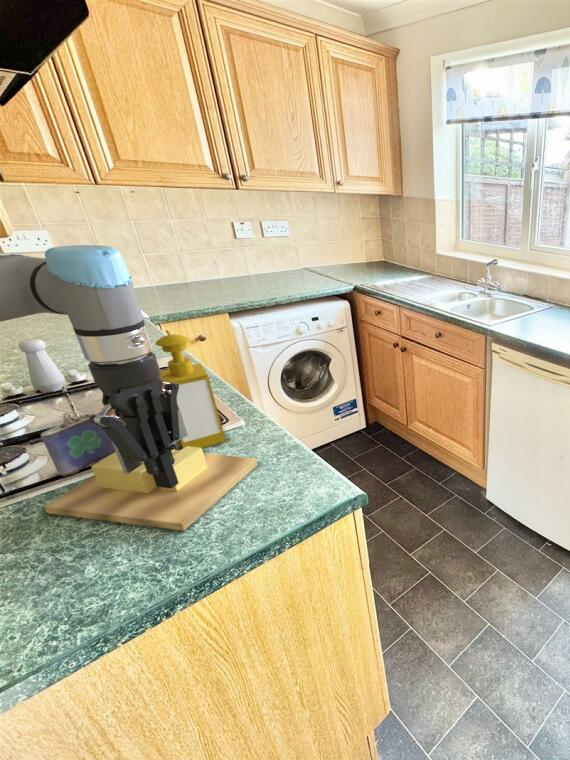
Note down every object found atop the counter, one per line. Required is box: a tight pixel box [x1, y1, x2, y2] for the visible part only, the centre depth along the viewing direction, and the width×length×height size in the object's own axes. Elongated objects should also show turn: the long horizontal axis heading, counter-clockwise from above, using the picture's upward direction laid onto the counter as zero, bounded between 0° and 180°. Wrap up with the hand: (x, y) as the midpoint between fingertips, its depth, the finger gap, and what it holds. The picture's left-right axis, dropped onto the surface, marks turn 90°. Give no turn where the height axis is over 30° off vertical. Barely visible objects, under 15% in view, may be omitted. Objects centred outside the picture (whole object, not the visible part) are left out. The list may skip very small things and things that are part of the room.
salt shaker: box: [18, 338, 66, 394], centre depth 103 cm, size 6×6×13 cm
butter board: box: [44, 449, 258, 532], centre depth 76 cm, size 24×18×2 cm
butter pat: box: [161, 446, 208, 491], centre depth 75 cm, size 3×7×4 cm, turn 174°
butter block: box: [90, 448, 176, 493], centre depth 75 cm, size 9×7×4 cm
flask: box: [40, 411, 116, 477], centre depth 79 cm, size 9×3×11 cm, turn 164°
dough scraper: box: [112, 405, 188, 474], centre depth 71 cm, size 2×12×8 cm, turn 174°
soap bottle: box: [155, 329, 227, 449], centre depth 87 cm, size 7×13×24 cm, turn 43°
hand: (167, 484), depth 71 cm, fingers closed
